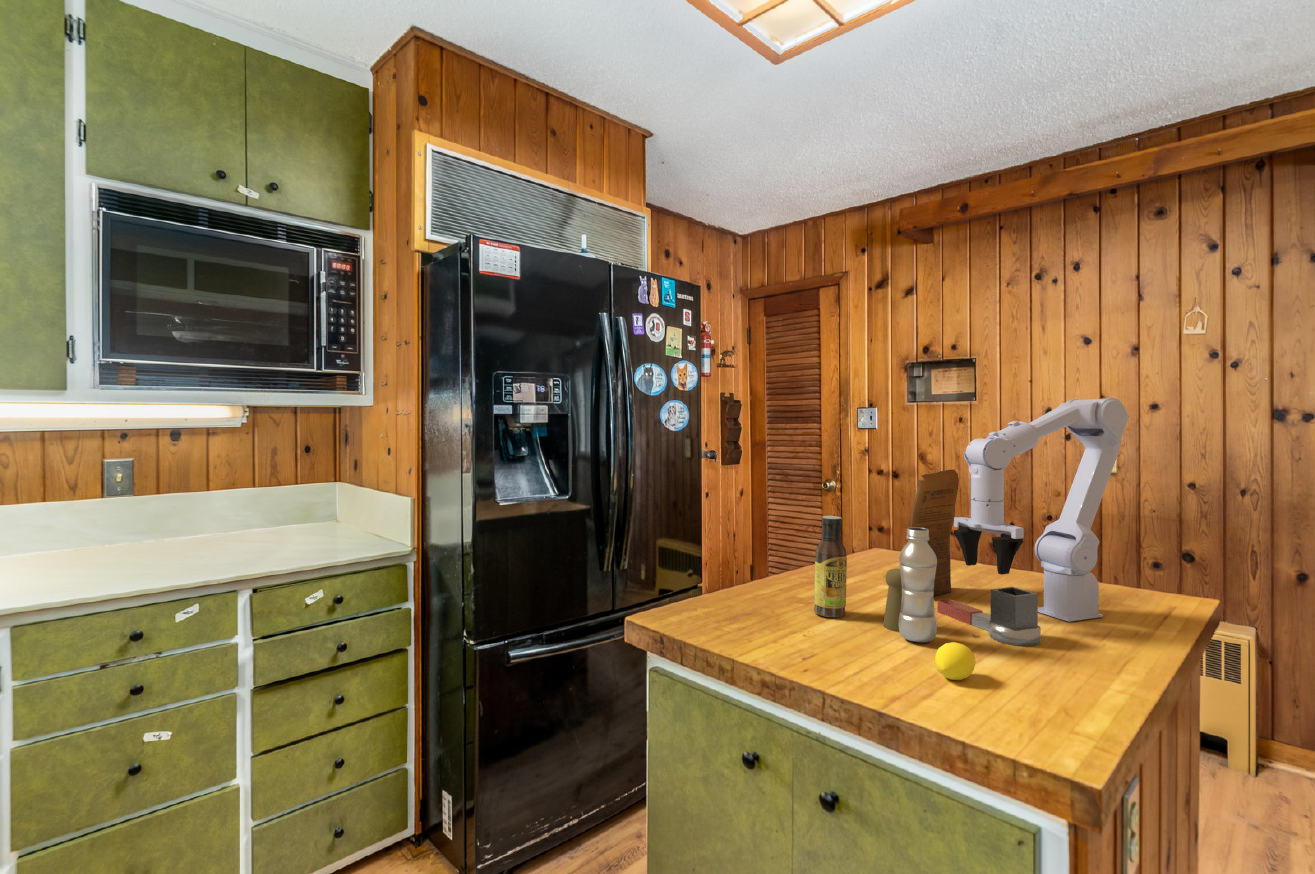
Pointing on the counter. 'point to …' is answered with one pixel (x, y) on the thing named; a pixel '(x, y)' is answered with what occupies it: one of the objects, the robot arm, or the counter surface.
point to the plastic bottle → (917, 587)
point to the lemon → (955, 661)
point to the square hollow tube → (1014, 608)
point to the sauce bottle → (830, 570)
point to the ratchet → (989, 624)
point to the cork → (893, 600)
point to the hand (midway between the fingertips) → (986, 569)
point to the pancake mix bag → (937, 520)
